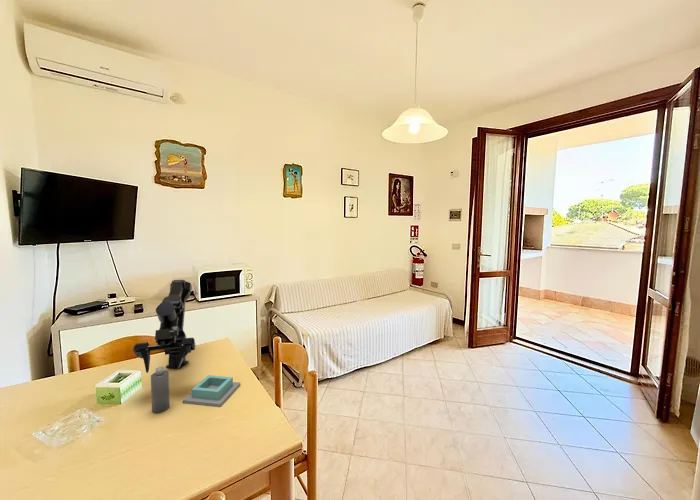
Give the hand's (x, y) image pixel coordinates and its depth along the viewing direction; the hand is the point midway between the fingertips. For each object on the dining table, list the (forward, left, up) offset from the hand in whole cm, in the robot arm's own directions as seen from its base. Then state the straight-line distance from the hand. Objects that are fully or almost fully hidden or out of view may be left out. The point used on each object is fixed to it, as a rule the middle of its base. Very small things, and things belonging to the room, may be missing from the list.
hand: (162, 370), depth 102 cm
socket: (-7, +14, -11) cm, 19 cm away
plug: (+4, +2, -11) cm, 12 cm away
